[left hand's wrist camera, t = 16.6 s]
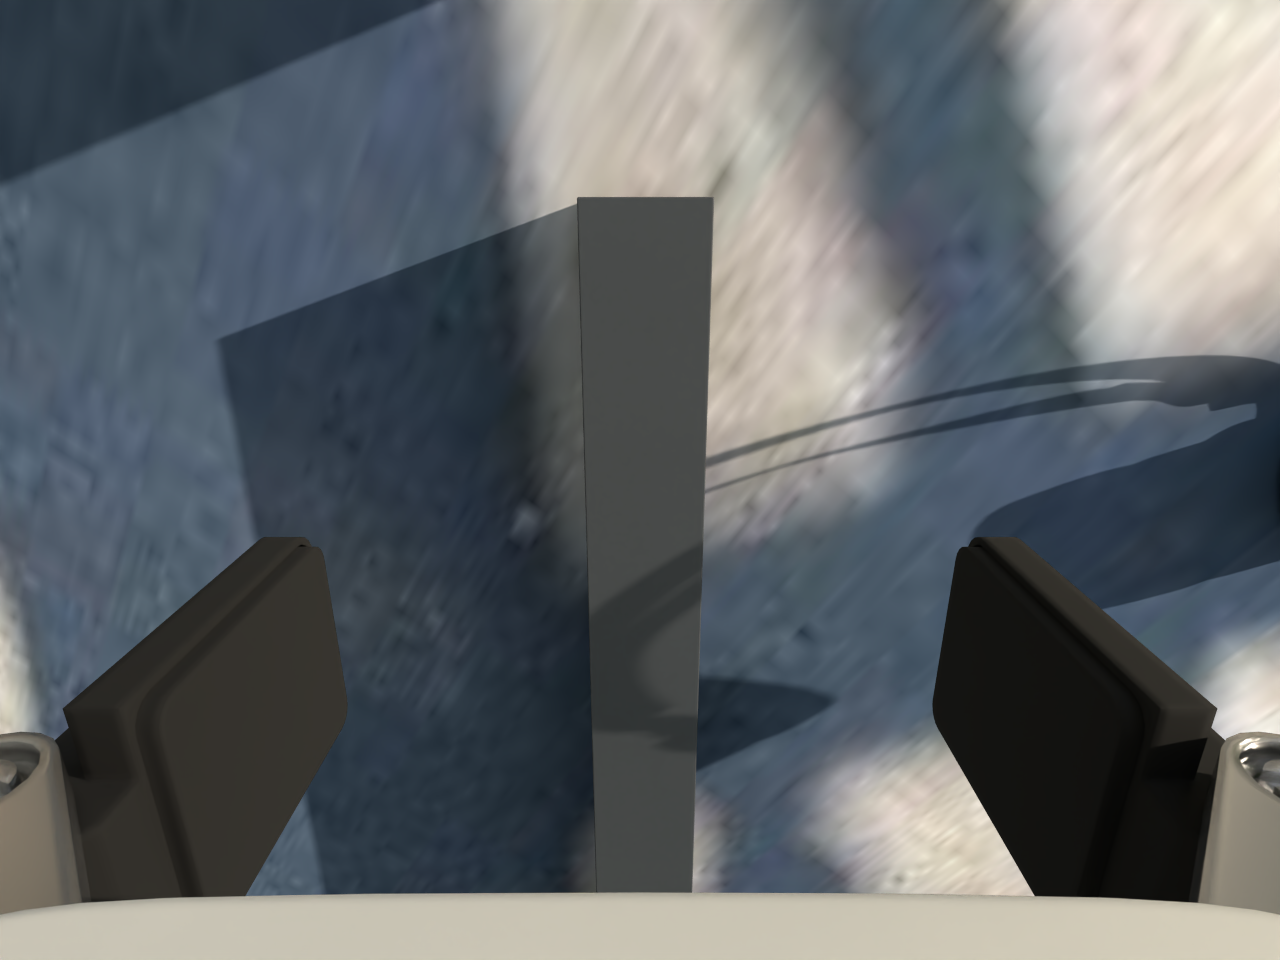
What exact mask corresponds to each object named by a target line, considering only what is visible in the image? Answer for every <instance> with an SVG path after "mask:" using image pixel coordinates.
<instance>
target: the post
mask: <svg viewBox="0 0 1280 960" xmlns="http://www.w3.org/2000/svg"><path fill="white" fill-rule="evenodd" d="M577 209H578V245H579V281H580V317H581V353H582V389H583V425H584V461H585V497H586V533H587V569H588V605H589V641H590V678H591V714H592V750H593V786H594V822H595V858H596V893H692V877H693V846H694V814H695V783H696V751H697V719H698V688H699V656H700V625H701V593H702V561H703V530H704V498H705V467H706V435H707V403H708V372H709V340H710V309H711V277H712V245H713V214H714V197H578V198H577Z"/></svg>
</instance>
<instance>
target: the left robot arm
mask: <svg viewBox="0 0 1280 960" xmlns="http://www.w3.org/2000/svg"><path fill="white" fill-rule="evenodd" d="M63 711H64V714H65V717H66V720H67V724H68V727H69V728H68V729H67V730H66V731H65V732H64V733H63V734H61V735H60V736H59V737H58V738H57V739H56V740H54V739H53V738H51V737H49V736H46V735H44V734H41V733H32V732H16V733H8V734H1V735H0V960H1280V735H1279V734H1272V733H1264V732H1248V733H1239V734H1236V735H1234V736H1231V737H1229V738H1227V739H1226V740H1224V739H1223V738H1222V737H1221V736H1220V735H1219V734H1217V733H1216V732H1215V731H1214V730H1213V729H1212V728H1211V727H1212V724H1213V720H1214V717H1215V714H1216V711H1217V708H1216V707H1215V706H1214V705H1213V704H1211V703H1210V702H1209V701H1208V700H1207V699H1206V698H1204V697H1203V696H1202V695H1201V694H1200V693H1199V692H1197V691H1196V690H1195V689H1194V688H1193V687H1192V686H1190V685H1189V684H1188V683H1187V682H1186V681H1185V680H1183V679H1182V678H1181V677H1180V676H1179V675H1178V674H1176V673H1175V672H1174V671H1173V670H1172V669H1171V668H1169V667H1168V666H1167V665H1166V664H1165V663H1164V662H1162V661H1161V660H1160V659H1159V658H1158V657H1157V656H1155V655H1154V654H1153V653H1152V652H1151V651H1150V650H1148V649H1147V648H1146V647H1145V646H1144V645H1143V644H1141V643H1140V642H1139V641H1138V640H1137V639H1136V638H1134V637H1133V636H1132V635H1131V634H1130V633H1129V632H1127V631H1126V630H1125V629H1124V628H1123V627H1122V626H1120V625H1119V624H1118V623H1117V622H1116V621H1115V620H1113V619H1112V618H1111V617H1110V616H1109V615H1108V614H1106V613H1105V612H1104V611H1103V610H1102V609H1101V608H1099V607H1098V606H1097V605H1096V604H1095V603H1094V602H1092V601H1091V600H1090V599H1089V598H1088V597H1087V596H1085V595H1084V594H1083V593H1082V592H1081V591H1080V590H1078V589H1077V588H1076V587H1075V586H1074V585H1073V584H1072V583H1070V582H1069V581H1068V580H1067V579H1066V578H1065V577H1063V576H1062V575H1061V574H1060V573H1059V572H1058V571H1056V570H1055V569H1054V568H1053V567H1052V566H1051V565H1049V564H1048V563H1047V562H1046V561H1045V560H1044V559H1042V558H1041V557H1040V556H1039V555H1038V554H1037V553H1035V552H1034V551H1033V550H1032V549H1031V548H1030V547H1028V546H1027V545H1026V544H1025V543H1024V542H1023V541H1021V540H1020V539H1018V538H1016V537H976V538H974V539H973V540H972V541H971V542H970V544H969V546H968V547H962V548H960V549H959V551H958V553H957V556H956V561H955V567H954V573H953V579H952V585H951V591H950V598H949V604H948V610H947V616H946V622H945V628H944V634H943V641H942V647H941V653H940V659H939V665H938V671H937V677H936V683H935V690H934V696H933V715H934V720H935V723H936V725H937V728H938V729H939V731H940V733H941V735H942V736H943V738H944V740H945V741H946V743H947V745H948V747H949V748H950V750H951V752H952V754H953V755H954V757H955V759H956V761H957V762H958V764H959V766H960V767H961V769H962V771H963V773H964V774H965V776H966V778H967V780H968V781H969V783H970V785H971V786H972V788H973V790H974V792H975V793H976V795H977V797H978V799H979V800H980V802H981V804H982V805H983V807H984V809H985V811H986V812H987V814H988V816H989V818H990V819H991V821H992V823H993V824H994V826H995V828H996V830H997V831H998V833H999V835H1000V837H1001V838H1002V840H1003V842H1004V844H1005V845H1006V847H1007V849H1008V850H1009V852H1010V854H1011V856H1012V857H1013V859H1014V861H1015V863H1016V864H1017V866H1018V868H1019V869H1020V871H1021V873H1022V875H1023V876H1024V878H1025V880H1026V882H1027V883H1028V885H1029V887H1030V888H1031V890H1032V892H1033V894H1034V895H1035V896H993V895H942V894H841V893H439V894H338V895H287V896H245V895H246V894H247V892H248V890H249V888H250V887H251V885H252V883H253V882H254V880H255V878H256V876H257V875H258V873H259V871H260V869H261V868H262V866H263V864H264V863H265V861H266V859H267V857H268V856H269V854H270V852H271V850H272V849H273V847H274V845H275V844H276V842H277V840H278V838H279V837H280V835H281V833H282V831H283V830H284V828H285V826H286V824H287V823H288V821H289V819H290V818H291V816H292V814H293V812H294V811H295V809H296V807H297V805H298V804H299V802H300V800H301V799H302V797H303V795H304V793H305V792H306V790H307V788H308V786H309V785H310V783H311V781H312V780H313V778H314V776H315V774H316V773H317V771H318V769H319V767H320V766H321V764H322V762H323V761H324V759H325V757H326V755H327V754H328V752H329V750H330V748H331V747H332V745H333V743H334V741H335V740H336V738H337V736H338V735H339V733H340V731H341V729H342V728H343V725H344V723H345V720H346V715H347V696H346V690H345V683H344V677H343V671H342V665H341V659H340V653H339V647H338V641H337V634H336V628H335V622H334V616H333V610H332V604H331V598H330V591H329V585H328V579H327V573H326V567H325V561H324V556H323V553H322V551H321V549H320V548H318V547H312V546H311V544H310V542H309V541H308V540H307V539H306V538H304V537H264V538H262V539H260V540H259V541H257V542H256V543H255V544H254V545H253V546H252V547H250V548H249V549H248V550H247V551H246V552H245V553H243V554H242V555H241V556H240V557H239V558H238V559H236V560H235V561H234V562H233V563H232V564H231V565H229V566H228V567H227V568H226V569H225V570H224V571H222V572H221V573H220V574H219V575H218V576H217V577H215V578H214V579H213V580H212V581H211V582H210V583H208V584H207V585H206V586H205V587H204V588H203V589H202V590H200V591H199V592H198V593H197V594H196V595H195V596H193V597H192V598H191V599H190V600H189V601H188V602H186V603H185V604H184V605H183V606H182V607H181V608H179V609H178V610H177V611H176V612H175V613H174V614H172V615H171V616H170V617H169V618H168V619H167V620H165V621H164V622H163V623H162V624H161V625H160V626H158V627H157V628H156V629H155V630H154V631H153V632H151V633H150V634H149V635H148V636H147V637H146V638H144V639H143V640H142V641H141V642H140V643H139V644H137V645H136V646H135V647H134V648H133V649H132V650H130V651H129V652H128V653H127V654H126V655H125V656H123V657H122V658H121V659H120V660H119V661H118V662H116V663H115V664H114V665H113V666H112V667H111V668H109V669H108V670H107V671H106V672H105V673H104V674H102V675H101V676H100V677H99V678H98V679H97V680H95V681H94V682H93V683H92V684H91V685H90V686H88V687H87V688H86V689H85V690H84V691H83V692H81V693H80V694H79V695H78V696H77V697H76V698H74V699H73V700H72V701H71V702H70V703H69V704H67V705H66V706H65V707H64V708H63Z"/></svg>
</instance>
